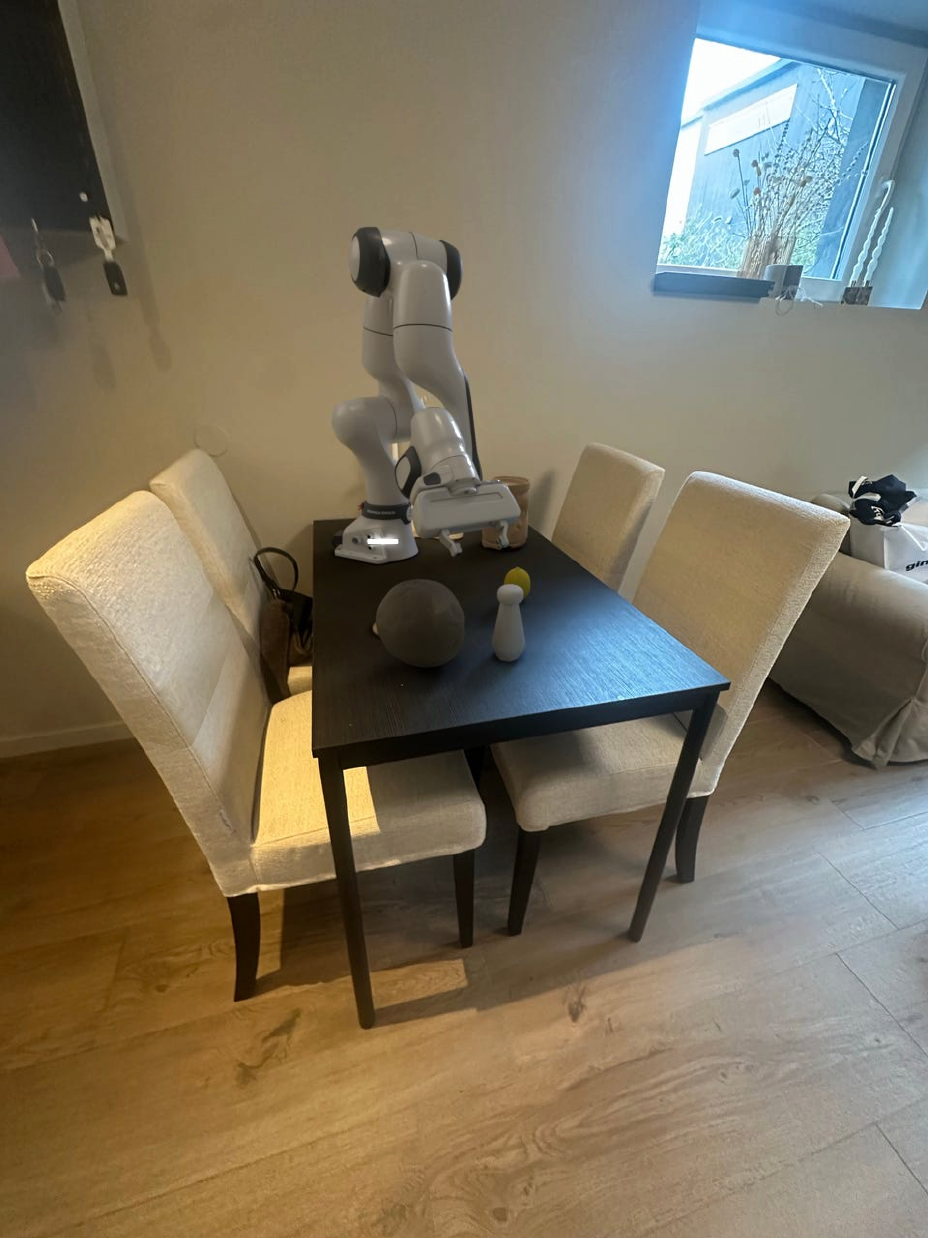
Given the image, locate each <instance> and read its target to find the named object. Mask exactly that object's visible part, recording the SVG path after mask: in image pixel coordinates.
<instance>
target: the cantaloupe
mask: <svg viewBox="0 0 928 1238" xmlns="http://www.w3.org/2000/svg"><path fill="white" fill-rule="evenodd" d="M465 620H466V618H465V614H464V610H463V607H462V606H461V604H460V601H459V600H458V599H457V597H456V594H454V593H453V591H451V590H450V589H449V588H448V587H447V586H445V585H443V584H442V583H440V582H438V581H435V580H432V579H431V580H430V579H424V578H417V579H416V578H415V579H409V580H405V581H402V582H399V583H398V584H396V585H395V586H393V587H392V588H391V589H390V590H389V591H388V592H387V593H386V594H385V596H384V597H383V598H382V599H381V602H380V603H379V605H378V608H377V611H376V615H375V622H376V627H377V632H378V634H379V636H378V637H379V638H380V639H379V640H381V642H382V644H383V646H384V648H385V649H386V650H387V652H389V654H390V655H391V656H393V657H394V658H396V659H397V660H399V661H400V662H402V663H404V664H407V665H409V666H413V667H417V668H426V669H427V668H429V669H430V668H436V667H439V666H443V665H444V664H446V663H448V662H450V661H452V660H453V659H454V658H455V657H456V656H457V655H458V653H459V652H460V651H461V649H462V647H463V645H464V642H465V637H466V631H465V625H466V622H465Z"/></svg>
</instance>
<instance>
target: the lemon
mask: <svg viewBox="0 0 928 1238" xmlns="http://www.w3.org/2000/svg"><path fill="white" fill-rule="evenodd" d="M507 584H513V585H517V586H519V587H520V588H522V590H523V599H522V601H523V600H525V599H526V598H527V597H528V595H529V593H530V591H531V579H530V575H529V574H528V572H527V571H525V570H524V569H523V568H520V567H519V566H516V567H515V568H513V569H510V570H509V571H508V572H507V573H506V575H505V577H504V581H503V585H507Z"/></svg>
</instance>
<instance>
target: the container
mask: <svg viewBox="0 0 928 1238" xmlns="http://www.w3.org/2000/svg"><path fill="white" fill-rule="evenodd" d="M492 480H499V481H501V482H503V483H506V484H507V486H508V488H509V490H510V492H511V493H512V495H513V497H514V498H515V500H516V502H517V504H518V506H519V508H520V510H521V513H520V516H519V518H518V519H517V521H516V522H515V523H514V524H513V525H509V526H508V529H507V534H506V536H507V539H508V541H509V544H508V546H507V547H506V548H510V549H517V548H521V547H522V546H523V545H524V544H525V543H526V542H527V540H526V539H527V538H528V530H529V529H528V527H529V513H528V509H529V507H530V506H529V505H530V491H529V490H530V488H531V480H530V478H527V477H523V476H515V475H496V476H494V477H493V478H492V479H491V480H490V481H492ZM481 531H482V538H481V542H482V543H481V545H482V546H483V547H484V549H485V548H491V549H495V550H498V551H501V550H502V548H498V545H497V543H496V539H498V537H499V536H500V532H497V530H496V528H490V529H484V530H481Z"/></svg>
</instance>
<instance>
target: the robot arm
mask: <svg viewBox="0 0 928 1238" xmlns="http://www.w3.org/2000/svg"><path fill="white" fill-rule="evenodd" d="M348 267H349V268H348V269H349V271H350V272H349V273H350V278H351V281H352V283H353V284H354V285H355V287H356V288H357V289H358V290H359V291H361V292H362V293H365V294H366V298H365V304H364V311H363V312H364V313H363V324H362V347H361V348H362V349H361V365H362V366H363V368H364V371H365V372H366V373H367V374H368V375H369V376H370V377H371V378H373V379H374V380H376V383H377V388H378V395H377V396H361V397H359V396H357V397H353V398H350V399H346V400H343V401H341V402H338V403H337V404H336V405H335V407H334V408H333V411H332V414H331V427H332V431H333V433H334V435H335V438H337V441H339V442H340V443H341V444H342V445H343V446H345V447H346V448H347V449H348V450H350V452H352V454H353V455H354V456H355V458H356V460H357V461H358V464H359V466H360V469H361V471H362V477H363V481H364V490H365V498H366V499H365V500H364V501H363V502H361V504H359V505H357V510H358V511H360V510H361V515H359V516H358V517H357V518H356V519H355V520H353V521H352V522H351V523H350V524H349V525H348V526H346V528H345V529H343V530H341V529H339V530H338V531H337V532H336V533H335V534H333V537H332V538H331V540H330V543H331V545H332V547H333V548H334V556H336V557H340V558H346V559H351V560H356V561H361V562H366V563H370V564H376V565H380V564H385V563H388V562H394V561H395V562H396V561H402V560H406V559H410V558H412V557H414V556H415V555H417V554H418V552H419V549H418V545H417V543H416V539H415V535H414V531H415V533H416V535H417V536H418V538H421V539H422V540H428V539H433V538H438V540H439V543H441V544H442V545H443V546H444V547H446V548H447V550H449V553H450V556H451V557H453V558H454V557H458V556H461V554H463V549H462V547H461V544H460V542H455V541H454V540H453V539H452V538H451V537H450V536H452V535H458V534H464V533H470V532H476V531H482V530H484V529H490V528H496V530H497V532H500V536H499V537H498V539H496V543H497V545H498V548H501V549H503V548H508V547H507V546H508V544H509V541H508V539H507V536H506V534H507V529H508V526H509V525H513V524H514V523H515V522H516V521H517V519H518V518H519V516H520V513H521V510H520V508H519V506H518V504H517V502H516V500H515V498H514V497H513V495H512V493H511V492H510V490H509V488H508V486H507V484H506V483H503V482H501V481H499V480H492V479H491V480H492V481H491V480H483V479H484V477H483V476H484V475H483V469H482V464H481V460H480V457H479V453H478V447H477V439H476V429H475V421H474V411H473V403H472V396H471V395H472V394H471V388H470V383H469V379H468V376H467V373H466V372H465V370H464V369H463V368H462V367H461V365H460V363H459V361H458V358H457V355H456V351H455V348H454V340H453V311H452V301H453V300H454V299H455V298H456V297H457V295H458V294H459V291H460V289H461V286H462V280H463V260H462V256H461V254H460V251H459V249H458V248H457V247H456V246H455V245H453V244H451V243H449V242H447V241H445V240H443V239H439V240H438V239H435V238H432V237H430V236H427V235H424V234H420V233H416V232H413V231H408V232H405V231H402V230H395V229H381V228H380V229H379V228H378V227H377V226H363V227H358V229H357V230H356V232H354V234H353V236H352V238H351V242H350V246H349V249H348ZM414 385H416V386H417V387H419V388H421V389H423V390H425V391H426V392H428V393H430V394H431V395H433V396H434V397H435V398H436V399H437V400H438V401H439V402H440V403H441V404H442V406H443V407H435V406H434V407H433V406H432V407H426V405H425V404H424V402H423V401H422V400H421V398H420V397H419V396H418V394H417V392H416V390H415V387H414ZM408 442H409V444H408V447H407V449H406V450H405V451H404V452H403V454H402V455H401V456H400V457H399V459H398V460H396V459H394V458H393V455H392V454H391V449H390V445H395V444H403V443H408ZM413 528H414V531H413ZM337 545H338V546H337Z"/></svg>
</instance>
